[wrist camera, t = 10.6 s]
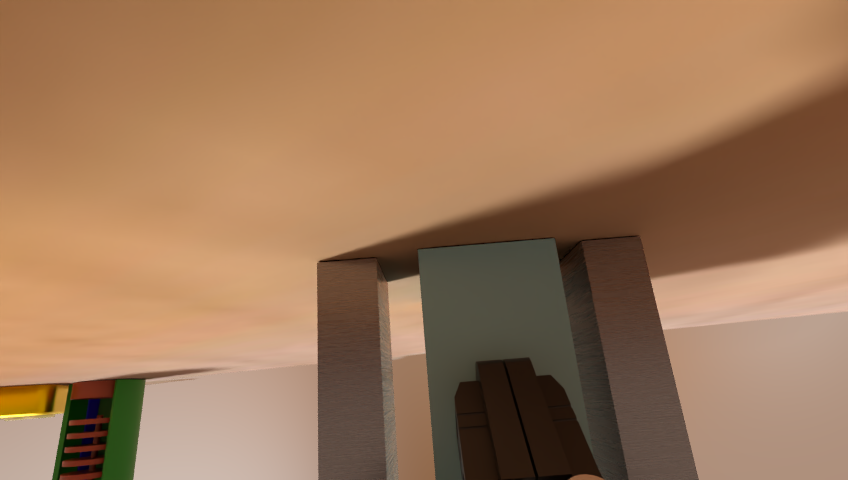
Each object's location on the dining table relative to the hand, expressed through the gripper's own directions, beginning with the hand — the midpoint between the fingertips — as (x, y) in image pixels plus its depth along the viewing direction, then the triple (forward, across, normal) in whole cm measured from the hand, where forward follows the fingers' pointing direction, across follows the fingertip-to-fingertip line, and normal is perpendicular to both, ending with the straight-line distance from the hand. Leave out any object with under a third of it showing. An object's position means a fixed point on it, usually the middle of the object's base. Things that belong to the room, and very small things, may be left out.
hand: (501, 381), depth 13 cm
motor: (+42, -50, -36) cm, 75 cm away
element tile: (+42, -65, -36) cm, 86 cm away
